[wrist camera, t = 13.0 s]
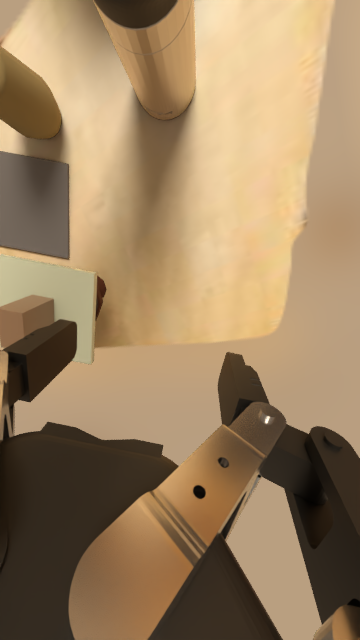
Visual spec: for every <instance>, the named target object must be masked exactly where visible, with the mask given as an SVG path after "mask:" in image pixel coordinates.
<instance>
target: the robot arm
mask: <svg viewBox="0 0 360 640" xmlns="http://www.w3.org/2000/svg"><path fill="white" fill-rule="evenodd" d="M93 1H94V3H95V5H96V8H97V10H98V12H99V14H100V16H101V18H102V21H103V23H104V25H105V27H106V29H107V31H108V33H109V36H110V38H111V40H112V42H113V44H114V47H115V49H116V51H117V53H118V55H119V57H120V60H121V62H122V64H123V66H124V68H125V71H126V73H127V75H128V77H129V79H130V81H131V84H132V86H133V88H134V90H135V92H136V95H137V97H138V99H139V101H140V103H141V105H142V106H143V108H144V109H145V110H146V111H147V112H148V113H149V114H150V115H151V116H153V117H155V118H158V119H161V120H168V119H173V118H175V117H177V116H179V115H180V114H181V113H182V112H184V111H185V109H186V108H187V107H188V105H189V103H190V102H191V100H192V97H193V94H194V91H195V84H196V66H195V61H196V60H195V17H194V0H93ZM76 351H77V323H76V322H74V321H69V320H64V319H59V320H57V321H56V322H54V323H53V324H51V325H49V326H46V327H42V328H39V329H37V330H35V331H33V332H32V333H30V334H29V335H26V336H25V337H23V339H20V340H18V341H16V342H15V343H13V344H11V345H10V346H8V347H6V348H5V349H3V350H0V640H283V639H282V638H281V636H280V634H279V633H278V631H277V629H276V627H275V626H274V624H273V622H272V620H271V619H270V617H269V615H268V614H267V612H266V610H265V608H264V607H263V605H262V603H261V601H260V600H259V598H258V596H257V595H256V593H255V591H254V589H253V588H252V586H251V584H250V582H249V581H248V579H247V577H246V576H245V574H244V572H243V570H242V569H241V567H240V565H239V564H238V562H237V560H236V558H235V557H234V555H233V553H232V551H231V550H230V548H229V546H228V545H227V543H226V540H227V539H228V537H229V535H230V533H231V531H232V529H233V528H234V526H235V524H236V522H237V520H238V518H239V516H240V514H241V512H242V510H243V509H244V507H245V505H246V503H247V502H248V500H249V498H250V497H251V495H252V493H253V492H254V490H255V488H256V486H257V485H258V483H259V481H260V479H261V477H264V478H265V479H267V480H269V481H271V482H273V483H275V484H277V485H279V486H281V487H283V488H284V489H285V493H286V496H287V500H288V503H289V507H290V511H291V514H292V518H293V522H294V525H295V529H296V533H297V536H298V540H299V543H300V547H301V551H302V554H303V558H304V561H305V565H306V569H307V572H308V576H309V579H310V583H311V587H312V590H313V594H314V598H315V601H316V605H317V608H318V612H319V616H320V619H321V622H322V626H321V627H320V628H319V629H318V630H317V631H316V633H315V635H314V638H313V640H360V458H359V457H358V455H357V454H356V452H355V451H354V449H353V448H352V446H351V445H350V444H349V443H348V442H347V441H346V440H345V439H344V438H343V437H342V436H340V435H339V434H337V433H336V432H334V431H332V430H330V429H327V428H325V427H319V426H317V427H313V428H312V429H311V431H310V433H309V434H307V433H305V432H303V431H300V430H298V429H296V428H293V427H291V426H289V425H287V424H286V419H285V417H284V415H283V414H282V413H281V412H280V411H279V410H278V409H276V408H275V407H274V406H272V405H270V404H269V401H268V399H267V396H266V394H265V391H264V389H263V387H262V384H261V382H260V379H259V377H258V374H257V372H256V371H255V370H254V369H253V368H252V367H251V366H247V365H245V362H244V359H243V357H242V355H239V354H234V353H230V352H227V353H226V356H225V359H224V363H223V366H222V369H221V373H220V376H219V381H218V394H219V402H220V411H221V419H222V425H221V426H220V427H219V428H218V429H217V430H216V431H215V432H214V433H213V434H212V435H211V436H210V437H209V438H208V439H207V440H206V441H205V442H204V443H203V444H201V446H199V448H197V450H195V451H194V452H193V453H192V454H191V455H190V456H189V457H188V458H187V459H186V460H185V461H184V462H183V463H182V464H181V465H180V466H178V465H176V464H175V463H174V462H173V461H171V460H170V459H168V458H167V457H164V456H163V455H162V449H163V445H160V444H155V443H150V442H145V441H140V440H135V439H130V440H101V439H98V438H96V437H94V436H92V435H90V434H88V433H86V432H84V431H82V430H80V429H78V428H76V427H70V426H66V425H61V424H56V423H51V422H47V424H46V425H45V426H44V427H43V429H42V430H41V431H36V432H28V433H23V434H19V435H16V436H14V426H15V407H14V403H15V402H16V401H17V400H22V401H27V402H31V401H32V400H33V399H34V398H35V397H36V396H37V395H38V394H39V393H40V392H41V391H42V390H43V389H44V388H45V387H46V386H47V385H48V384H49V383H50V382H51V381H52V380H53V379H54V378H55V377H56V376H57V375H58V374H59V373H60V372H61V371H62V370H63V369H64V368H65V367H66V366H67V365H68V363H70V362H71V361H72V360H73V358H74V357H75V355H76Z"/></svg>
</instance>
